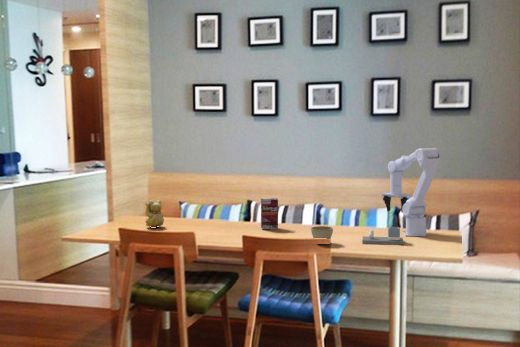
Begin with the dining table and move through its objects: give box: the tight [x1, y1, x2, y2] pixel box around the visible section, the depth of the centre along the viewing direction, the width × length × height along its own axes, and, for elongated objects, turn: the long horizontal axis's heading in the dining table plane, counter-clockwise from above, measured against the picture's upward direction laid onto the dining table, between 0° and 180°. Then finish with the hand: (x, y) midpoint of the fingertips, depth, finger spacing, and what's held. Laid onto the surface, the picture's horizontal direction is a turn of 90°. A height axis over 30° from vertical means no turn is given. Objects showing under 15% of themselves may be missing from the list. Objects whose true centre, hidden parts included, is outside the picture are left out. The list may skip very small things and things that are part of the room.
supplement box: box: [260, 197, 279, 231], centre depth 290 cm, size 9×5×16 cm, turn 97°
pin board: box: [361, 229, 404, 246], centre depth 255 cm, size 18×9×6 cm, turn 79°
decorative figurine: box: [144, 199, 165, 228], centre depth 297 cm, size 10×8×15 cm
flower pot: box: [310, 225, 334, 240], centre depth 253 cm, size 10×10×7 cm
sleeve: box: [387, 226, 401, 240], centre depth 254 cm, size 5×5×5 cm
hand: (395, 211), depth 283 cm, fingers open, 7 cm apart
